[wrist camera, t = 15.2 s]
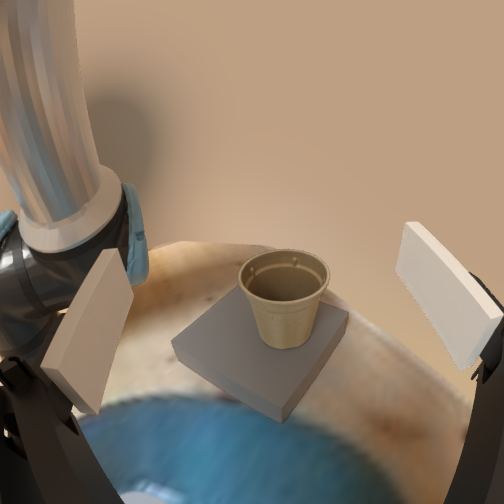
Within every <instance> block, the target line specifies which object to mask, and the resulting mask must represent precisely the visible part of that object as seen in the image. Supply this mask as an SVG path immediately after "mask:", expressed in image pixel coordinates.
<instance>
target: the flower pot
mask: <svg viewBox="0 0 504 504" xmlns="http://www.w3.org/2000/svg"><path fill="white" fill-rule="evenodd" d="M329 280H330V271H329V268H328V266H327V265H326V264H325V262H324V261H323V260H321V259H320V258H319V257H317V256H316V255H313V254H311V253H308V252H305V251H300V250H294V249H278V250H270V251H266V252H263V253H260V254H257V255H255V256H253V257H251V258H250V259H248V260H247V261H246V262H245V263H244V264H243V265H242V267H241V268H240V270H239V272H238V283H239V286H240V287H241V289H242V290H243V292H244V293H245V294H246V297H247V298H248V300H249V301H250V304H251V307H252V310H253V313H254V317H255V320H256V323H257V327H258V330H259V334H260V337H261V338H262V340H263V341H264V342H265V343H266V344H268V345H269V346H271V347H274V348H277V349H286V348H293V347H299V346H301V345H302V344H304V343H305V342H306V341H307V340H308V338H309V337H310V335H311V331H312V327H313V323H314V319H315V315H316V311H317V307H318V303H319V299H320V297H321V296H322V294H323V292H324V290H325V289H326V287H327V285H328V283H329Z"/></svg>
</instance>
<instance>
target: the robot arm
mask: <svg viewBox="0 0 504 504" xmlns="http://www.w3.org/2000/svg"><path fill="white" fill-rule="evenodd" d="M0 166H1V168H2V170H3V172H4V175H5V176H6V179H7V181H8V183H9V185H10V187H11V189H12V191H13V193H14V195H15V196H16V198H17V200H18V202H19V204H20V206H21V208H22V209H21V212H20V216H19V221H18V220H17V218H18V217H17V214H15V212H14V211H13V210H8V211H4V212H2V213H0V357H1V359H2V361H1V363H0V382H1V383H2V384H3V385H4V386H0V504H125V503H124V502H123V501H122V499H121V498H120V496H119V495H118V493H117V492H116V490H115V489H114V487H113V486H112V484H111V482H110V481H109V479H108V478H107V476H106V474H105V473H104V471H103V469H102V468H101V466H100V464H99V463H98V461H97V459H96V457H95V455H94V454H93V452H92V450H91V448H90V446H89V444H88V442H87V440H86V439H85V437H84V435H83V433H82V430H81V428H80V426H79V424H78V422H77V420H76V418H75V416H74V415H73V413H72V412H71V410H72V406H73V405H74V406H75V407H76V408H77V409H78V410H79V411H80V412H81V413H87V414H93V415H98V413H99V409H100V405H101V401H102V398H103V394H104V390H105V386H106V383H107V379H108V376H109V372H110V369H111V365H112V362H113V359H114V355H115V352H116V349H117V346H118V343H119V340H120V336H121V333H122V330H123V327H124V324H125V322H126V319H127V316H128V313H129V310H130V307H131V304H132V302H133V299H134V293H133V290H132V288H131V287H133V286H136V285H139V284H141V283H142V282H144V281H145V279H146V278H147V276H148V273H149V257H148V249H147V242H146V238H145V235H144V224H143V218H142V213H141V208H140V204H139V199H138V195H137V192H136V189H135V187H134V186H133V185H132V184H124V183H120V180H119V179H118V177H117V175H116V174H115V173H114V172H113V171H112V170H111V169H109V168H108V167H105V166H103V165H100V164H99V160H98V156H97V152H96V148H95V144H94V140H93V135H92V131H91V127H90V122H89V117H88V112H87V107H86V102H85V97H84V91H83V85H82V78H81V72H80V65H79V58H78V49H77V39H76V29H75V15H74V0H0ZM395 271H396V273H397V274H398V275H399V277H400V278H401V280H402V281H403V283H404V284H405V285H406V287H407V288H408V290H409V291H410V293H411V294H412V296H413V297H414V298H415V300H416V301H417V303H418V304H419V306H420V308H421V309H422V310H423V312H424V314H425V315H426V317H427V318H428V320H429V321H430V323H431V325H432V326H433V328H434V329H435V330H436V332H437V334H438V336H439V337H440V339H441V341H442V342H443V344H444V346H445V347H446V349H447V351H448V352H449V354H450V356H451V358H452V359H453V361H454V363H455V365H456V366H457V368H458V370H459V371H461V370H464V369H466V368H469V367H471V366H473V364H474V363H475V361H476V360H477V359H478V357H479V356H480V357H481V359H482V360H483V361H482V362H481V364H480V365H479V367H478V368H477V370H476V371H475V372H474V374H473V375H472V377H471V380H473V379H474V378H475V377H476V375H477V374H478V378H477V380H476V381H477V387H476V393H475V399H474V404H473V409H472V414H471V419H470V423H469V427H468V432H467V436H466V439H465V443H464V447H463V450H462V454H461V457H460V460H459V463H458V466H457V469H456V472H455V475H454V478H453V481H452V483H451V486H450V489H449V491H448V494H447V496H446V499H445V501H444V503H443V504H504V307H503V306H502V305H501V304H500V302H499V301H498V300H497V299H496V298H495V296H494V295H493V294H491V292H490V291H489V289H488V288H486V287H485V285H484V284H483V282H482V281H481V280H480V279H479V278H478V277H476V276H475V275H473V274H472V273H470V272H468V271H467V270H466V269H465V268H464V267H463V266H462V265H461V264H460V263H459V262H458V261H457V260H456V259H455V257H454V256H453V255H452V254H451V253H450V252H449V251H448V250H447V249H446V248H445V247H444V246H443V245H442V244H441V243H440V242H439V241H438V240H437V239H435V237H434V236H433V235H432V234H430V233H429V232H428V231H427V230H426V229H425V228H424V227H423V226H422V225H421V224H420V223H419V222H405V226H404V232H403V237H402V242H401V246H400V251H399V256H398V260H397V264H396V269H395ZM66 308H68V310H67V312H66V313H61V314H60V313H59V312H58V311H60V310H63V309H66ZM4 429H5V430H7V431H8V437H6V436H5V435H4Z"/></svg>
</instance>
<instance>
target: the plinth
mask: <svg viewBox="0 0 504 504" xmlns="http://www.w3.org/2000/svg"><path fill="white" fill-rule="evenodd" d="M347 318H348V312H347V311H344V310H342V309H339V308H336V307H333V306H330V305H327V304H325V303H322V302H319V303H318V307H317V311H316V315H315V319H314V323H313V327H312V331H311V335H310V337H309V338H308V340H307V341H306V342H305V343H304V344H302V345H301V346H299V347H293V348H286V349H277V348H274V347H271V346H269V345H268V344H266V343H265V342H264V341H263V340H262V338H261V337H260V334H259V330H258V327H257V323H256V320H255V317H254V313H253V310H252V307H251V304H250V301H249V300H248V298H247V297H246V294H245V293H244V292H243V290H242V289H241V287H240V286H239V285H238V286H236V287H235V288H234V289H233V290H232V291H230V292H229V293H228V294H227V295H226V296H224V297H223V298H222V299H221V300H220V301H218V302H217V303H216V304H215V305H214V306H212V307H211V308H210V309H209V310H208V311H206V312H205V313H204V314H203V315H202V316H200V317H199V318H198V319H197V320H195V321H194V322H193V323H192V324H191V325H189V326H188V327H187V328H186V329H184V330H183V331H182V332H181V333H180V334H178V335H177V336H176V337H175V338H173V339H172V340H171V343H172V346H173V348H174V351H175V353H176V356H177V358H178V361H180V362H181V363H183V364H184V365H185V366H187V367H188V368H190V369H191V370H193V371H194V372H196V373H197V374H198V375H200V376H201V377H203V378H204V379H206V380H207V381H209V382H211V383H212V384H214V385H215V386H217V387H218V388H220V389H221V390H223V391H225V392H226V393H228V394H229V395H231V396H233V397H234V398H236V399H238V400H239V401H241V402H243V403H244V404H246V405H248V406H249V407H251V408H253V409H255V410H256V411H258V412H260V413H262V414H264V415H265V416H267V417H269V418H271V419H273V420H274V421H276V422H278V423H280V424H282V423H283V422H284V421H285V419H286V418H287V417H288V415H289V414H290V413H291V411H292V410H293V409H294V407H295V406H296V405H297V403H298V402H299V401H300V399H301V398H302V397H303V395H304V394H305V392H306V391H307V390H308V388H309V387H310V385H311V384H312V382H313V381H314V380H315V378H316V377H317V375H318V374H319V372H320V371H321V369H322V368H323V366H324V365H325V363H326V362H327V360H328V359H329V357H330V356H331V354H332V352H333V351H334V349H335V348H336V346H337V345H338V343H339V341H340V340H341V338H342V337H343V335H344V333H345V329H346V323H347Z"/></svg>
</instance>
